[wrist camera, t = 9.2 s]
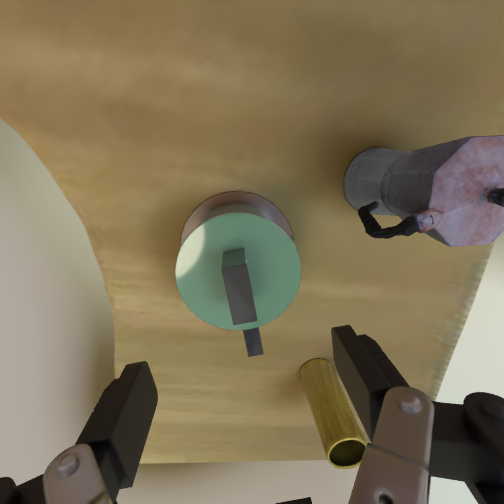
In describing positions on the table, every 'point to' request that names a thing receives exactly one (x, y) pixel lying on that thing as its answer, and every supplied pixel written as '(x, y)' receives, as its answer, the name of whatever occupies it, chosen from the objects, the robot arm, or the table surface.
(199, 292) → the pot
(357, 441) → the vase
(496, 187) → the moka pot
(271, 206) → the trivet
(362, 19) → the table surface
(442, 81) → the table surface
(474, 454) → the robot arm
